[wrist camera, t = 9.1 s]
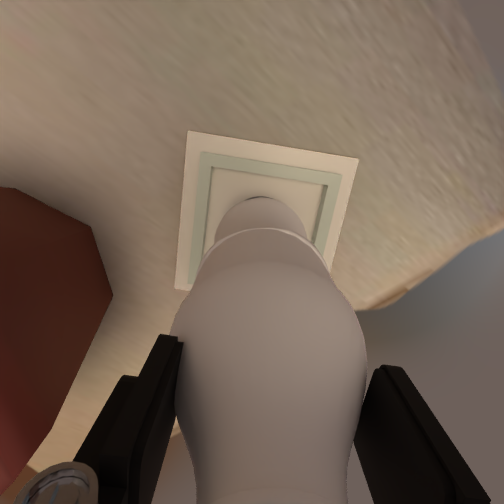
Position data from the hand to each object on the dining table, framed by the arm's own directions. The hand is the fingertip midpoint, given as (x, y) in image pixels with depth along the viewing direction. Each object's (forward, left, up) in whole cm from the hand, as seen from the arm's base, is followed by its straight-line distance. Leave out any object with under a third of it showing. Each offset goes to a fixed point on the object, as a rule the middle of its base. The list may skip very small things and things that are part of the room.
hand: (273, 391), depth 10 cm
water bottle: (0, 0, -19) cm, 19 cm away
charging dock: (0, 0, -22) cm, 22 cm away
